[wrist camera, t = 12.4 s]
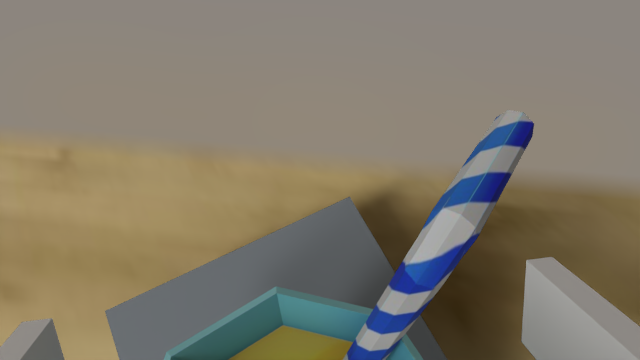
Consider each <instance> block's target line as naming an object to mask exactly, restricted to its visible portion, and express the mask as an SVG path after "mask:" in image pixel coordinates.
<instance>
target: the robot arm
mask: <svg viewBox="0 0 640 360" xmlns="http://www.w3.org/2000/svg"><path fill="white" fill-rule="evenodd" d="M521 342H522V343H523V344H524V345H525V346H526V348H527V349H528V350H529V351H530V353H531V354H532V355H533V356H534V358H535V359H536V360H640V326H638V325H637V324H636V323H635V322H633V321H632V320H631V319H630V318H628V317H627V316H626V315H625V314H623V313H622V312H621V311H620V310H618V309H617V308H616V307H615V306H613V305H612V304H611V303H610V302H608V301H607V300H606V299H605V298H603V297H602V296H601V295H599V294H598V293H597V292H596V291H594V290H593V289H592V288H591V287H589V286H588V285H587V284H586V283H584V282H583V281H582V280H581V279H579V278H578V277H577V276H576V275H574V274H573V273H572V272H571V271H569V270H568V269H567V268H565V267H564V266H563V265H562V264H560V263H559V262H558V261H557V260H555V259H554V258H553V257H547V258H539V259H531V260H526V276H525V292H524V308H523V324H522V340H521ZM0 360H64V357H63V353H62V350H61V347H60V343H59V340H58V337H57V333H56V330H55V327H54V323H53V320H52V318H51V319H43V320H35V321H26V322H22V323H21V324H20V325H19V326H18V327H17V329H16V330H15V331H14V332H13V333H12V334H11V336H10V337H9V338H8V339H7V340H6V341H5V342H4V344H3V345H2V346H1V347H0Z"/></svg>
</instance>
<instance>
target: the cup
mask: <svg viewBox="0 0 640 360" xmlns="http://www.w3.org/2000/svg"><path fill="white" fill-rule="evenodd" d="M533 127H534V123H533V122H532V121H531V120H530V119H529V118H528V117H527V116H526V114H525V113H523V112H517V111H511V110H507V111H506V112H505V113H503V114H501V115H499V116H498V117H496V119H495V120H494V122H493V123H492V125H491V126H490V128H489V129H488V130H487V132H486V133H485V135H484V136H483V138H482V139H481V141H480V142H479V144H478V145H477V146H476V148H475V149H474V151H473V152H472V154H471V155H470V157H469V158H468V159H467V161H466V162H465V164H464V165H463V167H462V168H461V170H460V171H459V172H458V174H457V175H456V177H455V178H454V180H453V181H452V183H451V184H450V185H449V187H448V188H447V190H446V191H445V193H444V194H443V196H442V197H441V199H440V200H439V201H438V203H437V204H436V206H435V207H434V209H433V210H432V212H431V214H430V216H429V217H428V219H427V221H426V223H425V225H424V227H423V229H422V231H421V232H420V234H419V236H418V238H417V239H416V241H415V242H414V244H413V245H412V247H411V249H410V250H409V252H408V253H407V255H406V257H405V258H404V260H403V262H402V263H401V265H400V266H399V268H398V270H397V271H396V273H395V275H394V276H393V278H392V280H391V281H390V283H389V285H388V286H387V288H386V289H385V291H384V293H383V294H382V296H381V298H380V299H379V301H378V303H377V304H376V306H375V308H374V309H370V308H366V307H362V306H358V305H353V304H349V303H345V302H341V301H336V300H332V299H328V298H324V297H319V296H315V295H311V294H307V293H303V292H298V291H294V290H290V289H286V288H281V287H277V286H276V287H274V288H272V289H271V290H269V291H267V292H266V293H264V294H262V295H261V296H259V297H257V298H256V299H254V300H252V301H251V302H249V303H247V304H246V305H244V306H242V307H241V308H239V309H237V310H236V311H234V312H232V313H231V314H229V315H227V316H226V317H224V318H222V319H221V320H219V321H217V322H216V323H214V324H212V325H211V326H209V327H207V328H206V329H204V330H202V331H201V332H199V333H197V334H196V335H194V336H192V337H191V338H189V339H187V340H186V341H184V342H182V343H181V344H179V345H177V346H176V347H174V348H172V349H171V350H169V351H167V352H166V355H165V357H164V360H424V359H423V358H422V357H421V355H420V354H419V352H418V351H417V349H416V348H415V346H414V345H413V343H412V342H411V340H410V339H409V337H408V336H407V334H406V332H407V331H408V330H409V328H410V327H411V326H412V325H413V323H414V322H415V321H416V319H417V318H418V317H419V315H420V314H421V313H422V311H423V310H424V309H425V308H426V306H427V305H428V304H429V302H430V301H431V300H432V298H433V297H434V296H435V295H436V293H437V292H438V291H439V289H440V288H441V287H442V285H443V284H444V283H445V281H446V280H447V279H448V277H449V276H450V274H451V273H452V271H453V270H454V268H455V267H456V265H457V264H458V262H459V261H460V260H461V258H462V257H463V256H464V254H465V253H466V252H467V251H468V249H469V248H470V247H471V245H472V244H473V243H474V242H475V240H476V239H477V237H478V236H479V234H480V232H481V230H482V228H483V226H484V224H485V223H486V221H487V219H488V217H489V215H490V213H491V212H492V210H493V208H494V206H495V204H496V202H497V201H498V199H499V197H500V195H501V193H502V191H503V189H504V188H505V186H506V184H507V182H508V180H509V178H510V177H511V175H512V173H513V171H514V169H515V167H516V165H517V164H518V162H519V160H520V158H521V156H522V154H523V153H524V151H525V149H526V147H527V145H528V143H529V141H530V140H531V138H532V134H533Z"/></svg>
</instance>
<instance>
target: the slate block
mask: <svg viewBox="0 0 640 360" xmlns="http://www.w3.org/2000/svg"><path fill="white" fill-rule="evenodd" d="M394 275H395V272H394V270H393V268H392V267H391V265H390V263H389V262H388V260H387V258H386V257H385V255H384V253H383V252H382V250H381V248H380V247H379V245H378V243H377V242H376V240H375V238H374V237H373V235H372V233H371V232H370V230H369V228H368V227H367V225H366V223H365V222H364V220H363V218H362V217H361V215H360V213H359V212H358V210H357V208H356V207H355V205H354V203H353V202H352V200H351V198H350V197H348V198H346V199H344V200H341V201H339V202H337V203H335V204H333V205H331V206H329V207H326V208H324V209H322V210H320V211H318V212H316V213H314V214H312V215H309V216H307V217H305V218H303V219H301V220H299V221H297V222H294V223H292V224H290V225H288V226H286V227H284V228H282V229H279V230H277V231H275V232H273V233H271V234H269V235H267V236H265V237H262V238H260V239H258V240H256V241H254V242H252V243H250V244H247V245H245V246H243V247H241V248H239V249H237V250H235V251H232V252H230V253H228V254H226V255H224V256H222V257H220V258H217V259H215V260H213V261H211V262H209V263H207V264H205V265H203V266H200V267H198V268H196V269H194V270H192V271H190V272H188V273H185V274H183V275H181V276H179V277H177V278H175V279H173V280H170V281H168V282H166V283H164V284H162V285H160V286H158V287H155V288H153V289H151V290H149V291H147V292H145V293H143V294H141V295H138V296H136V297H134V298H132V299H130V300H128V301H126V302H123V303H121V304H119V305H117V306H115V307H113V308H111V309H108V310H106V311H105V312H106V316H107V319H108V322H109V326H110V329H111V332H112V336H113V339H114V342H115V346H116V349H117V352H118V356H119V359H120V360H164V357H165V355H166V352H167V351H169V350H171V349H172V348H174V347H176V346H177V345H179V344H181V343H182V342H184V341H186V340H187V339H189V338H191V337H192V336H194V335H196V334H197V333H199V332H201V331H202V330H204V329H206V328H207V327H209V326H211V325H212V324H214V323H216V322H217V321H219V320H221V319H222V318H224V317H226V316H227V315H229V314H231V313H232V312H234V311H236V310H237V309H239V308H241V307H242V306H244V305H246V304H247V303H249V302H251V301H252V300H254V299H256V298H257V297H259V296H261V295H262V294H264V293H266V292H267V291H269V290H271V289H272V288H274V287H276V286H277V287H281V288H286V289H290V290H294V291H298V292H303V293H307V294H311V295H315V296H319V297H324V298H328V299H332V300H336V301H341V302H345V303H349V304H353V305H358V306H362V307H366V308H370V309H374V308H375V306H376V304H377V303H378V301H379V299H380V298H381V296H382V294H383V293H384V291H385V289H386V288H387V286H388V285H389V283H390V281H391V280H392V278H393V276H394ZM406 334H407V336H408V337H409V339H410V340H411V342H412V343H413V345H414V346H415V348H416V349H417V351H418V352H419V354H420V355H421V357H422V358H423V359H424V360H447V358H446V357H445V355H444V353H443V352H442V350H441V348H440V347H439V345H438V343H437V342H436V340H435V338H434V337H433V335H432V333H431V332H430V330H429V328H428V327H427V325H426V323H425V322H424V320H423V318H422V317H421V315H419V317H418V318H417V319H416V321H415V322H414V323H413V325H412V326H411V327H410V328H409V330H408V331H407V332H406Z"/></svg>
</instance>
